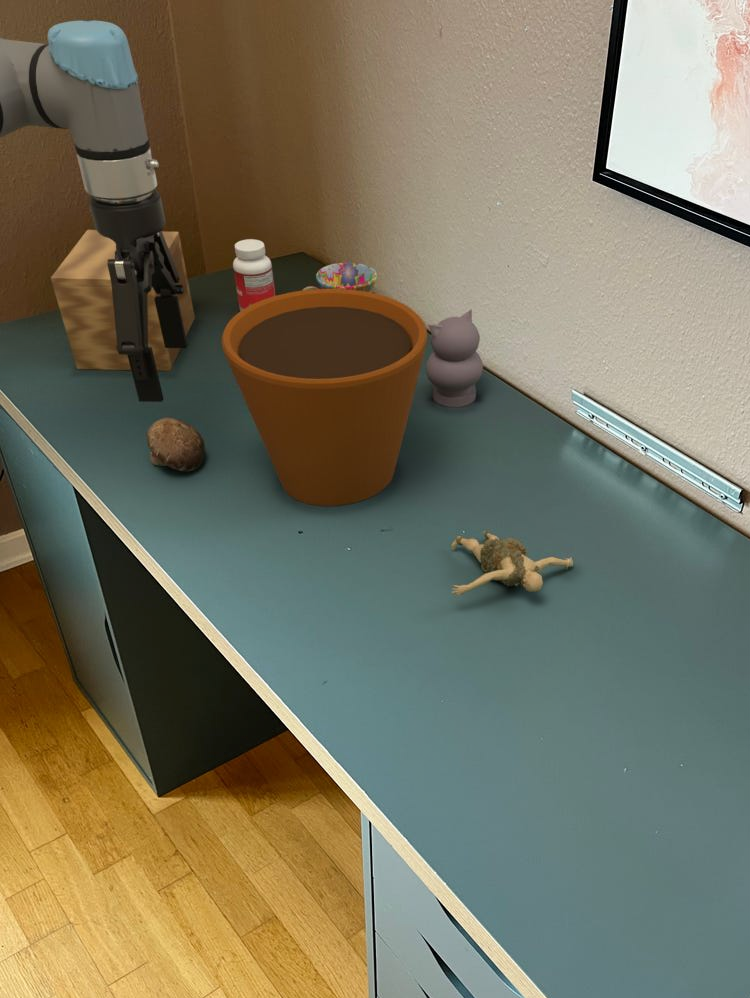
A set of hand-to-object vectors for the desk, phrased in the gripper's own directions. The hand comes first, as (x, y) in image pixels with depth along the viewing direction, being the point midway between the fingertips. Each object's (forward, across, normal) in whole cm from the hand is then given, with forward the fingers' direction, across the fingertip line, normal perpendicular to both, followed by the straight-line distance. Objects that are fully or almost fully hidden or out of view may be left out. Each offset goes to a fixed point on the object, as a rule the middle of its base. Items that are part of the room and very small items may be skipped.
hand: (164, 372), depth 118 cm
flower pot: (+13, -3, -21) cm, 25 cm away
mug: (+13, +35, -18) cm, 42 cm away
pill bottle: (+13, +45, -3) cm, 47 cm away
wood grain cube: (+13, +33, +14) cm, 38 cm away
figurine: (+13, -23, -42) cm, 49 cm away
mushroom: (+13, -1, 0) cm, 13 cm away
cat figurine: (+13, +18, -36) cm, 42 cm away
